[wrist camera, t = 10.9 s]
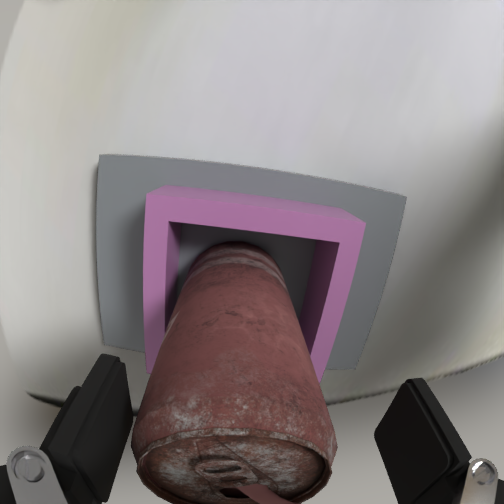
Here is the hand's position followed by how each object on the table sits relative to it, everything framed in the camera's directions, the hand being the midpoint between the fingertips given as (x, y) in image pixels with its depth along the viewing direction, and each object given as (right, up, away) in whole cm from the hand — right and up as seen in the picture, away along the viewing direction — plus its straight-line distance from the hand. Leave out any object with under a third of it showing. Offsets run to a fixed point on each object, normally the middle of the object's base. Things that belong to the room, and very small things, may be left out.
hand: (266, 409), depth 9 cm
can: (-1, +3, +11) cm, 11 cm away
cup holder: (-1, +4, +12) cm, 13 cm away
